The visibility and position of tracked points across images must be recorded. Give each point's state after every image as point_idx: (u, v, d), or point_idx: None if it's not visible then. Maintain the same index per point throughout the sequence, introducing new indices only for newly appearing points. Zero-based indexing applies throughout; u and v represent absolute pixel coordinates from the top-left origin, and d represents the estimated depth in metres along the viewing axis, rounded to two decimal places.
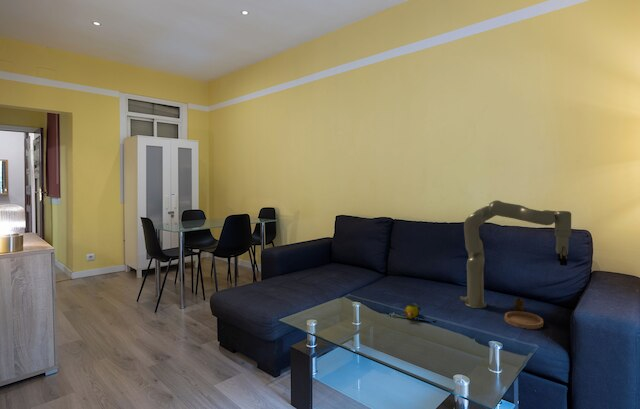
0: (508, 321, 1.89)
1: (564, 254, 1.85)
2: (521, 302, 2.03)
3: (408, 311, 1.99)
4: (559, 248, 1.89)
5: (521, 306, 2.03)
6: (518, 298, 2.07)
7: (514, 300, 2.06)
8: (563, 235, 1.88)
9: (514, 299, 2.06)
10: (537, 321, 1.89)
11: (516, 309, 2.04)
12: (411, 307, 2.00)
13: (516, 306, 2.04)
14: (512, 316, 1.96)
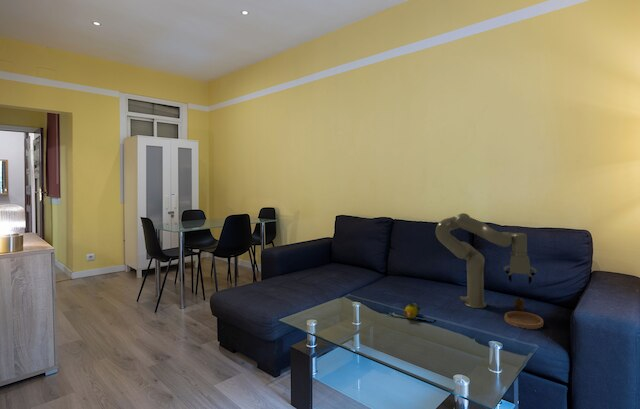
0: (508, 321, 1.89)
1: None
2: (521, 302, 2.03)
3: (408, 311, 1.99)
4: (529, 268, 1.99)
5: (521, 306, 2.03)
6: (518, 298, 2.07)
7: (514, 300, 2.06)
8: None
9: (514, 299, 2.06)
10: (537, 321, 1.89)
11: (516, 309, 2.04)
12: (411, 307, 2.00)
13: (516, 306, 2.04)
14: (512, 316, 1.96)
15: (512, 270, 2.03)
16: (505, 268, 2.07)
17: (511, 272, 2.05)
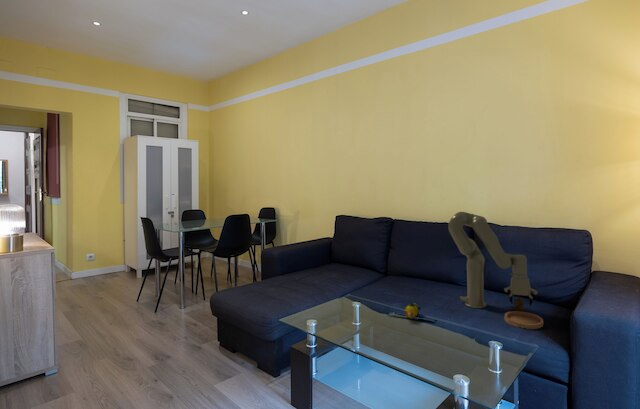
0: (508, 321, 1.89)
1: None
2: (521, 302, 2.03)
3: (408, 311, 1.99)
4: None
5: (521, 306, 2.03)
6: (518, 298, 2.07)
7: (514, 300, 2.06)
8: None
9: (514, 299, 2.06)
10: (537, 321, 1.89)
11: (516, 309, 2.04)
12: (411, 307, 2.00)
13: (516, 306, 2.04)
14: (512, 316, 1.96)
15: (513, 292, 2.04)
16: (506, 289, 2.08)
17: (512, 294, 2.05)
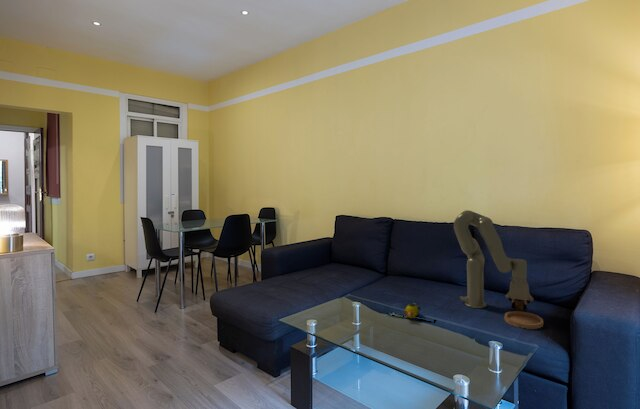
0: (508, 321, 1.89)
1: None
2: (521, 302, 2.03)
3: (408, 311, 1.99)
4: (529, 294, 2.01)
5: (521, 306, 2.03)
6: None
7: (514, 300, 2.06)
8: (526, 281, 2.02)
9: None
10: (537, 321, 1.89)
11: (516, 309, 2.04)
12: (411, 307, 2.00)
13: (516, 306, 2.04)
14: (512, 316, 1.96)
15: (511, 296, 2.04)
16: (507, 296, 2.08)
17: (513, 299, 2.05)
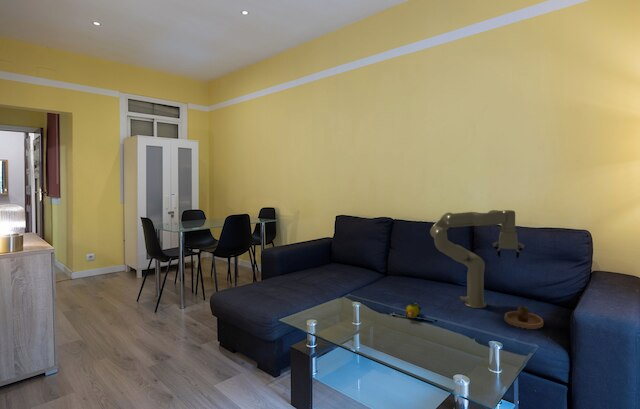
0: (508, 321, 1.89)
1: (523, 247, 2.08)
2: (525, 311, 1.88)
3: (409, 310, 1.99)
4: (517, 243, 2.08)
5: (525, 315, 1.88)
6: (522, 306, 1.92)
7: (518, 309, 1.91)
8: None
9: (518, 307, 1.91)
10: (537, 321, 1.89)
11: (520, 318, 1.90)
12: (412, 306, 2.00)
13: (520, 315, 1.90)
14: (512, 316, 1.96)
15: (501, 246, 2.12)
16: (494, 244, 2.16)
17: (500, 248, 2.14)
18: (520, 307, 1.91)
